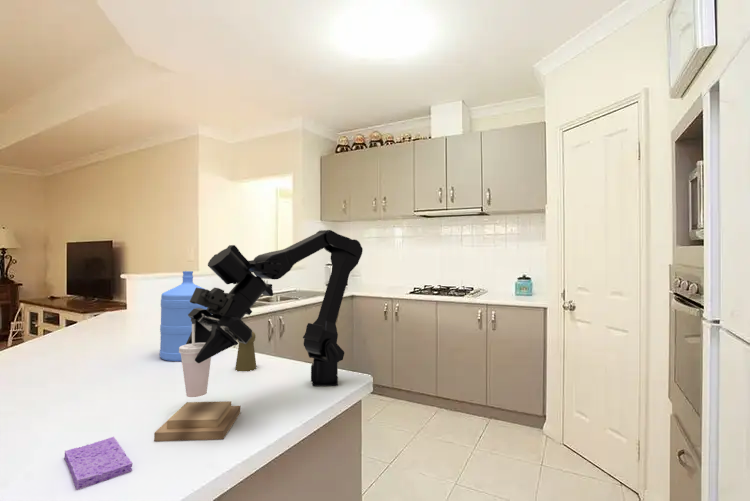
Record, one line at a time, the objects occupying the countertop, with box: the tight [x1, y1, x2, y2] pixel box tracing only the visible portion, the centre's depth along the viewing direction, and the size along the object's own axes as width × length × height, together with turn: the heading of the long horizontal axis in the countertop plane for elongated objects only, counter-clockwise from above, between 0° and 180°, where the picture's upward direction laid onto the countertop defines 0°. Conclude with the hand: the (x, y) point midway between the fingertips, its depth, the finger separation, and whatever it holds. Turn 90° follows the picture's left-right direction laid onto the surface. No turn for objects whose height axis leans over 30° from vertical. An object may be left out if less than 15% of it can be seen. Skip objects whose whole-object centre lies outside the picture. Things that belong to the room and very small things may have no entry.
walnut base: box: [153, 400, 242, 442], centre depth 76 cm, size 12×12×3 cm
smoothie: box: [179, 324, 212, 398], centre depth 78 cm, size 6×6×14 cm
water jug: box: [159, 270, 211, 362], centre depth 129 cm, size 16×16×28 cm
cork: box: [234, 331, 257, 372], centre depth 115 cm, size 6×6×11 cm
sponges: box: [64, 436, 133, 491], centre depth 62 cm, size 7×13×2 cm, turn 45°
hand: (189, 358), depth 77 cm, fingers closed on smoothie, 6 cm apart
